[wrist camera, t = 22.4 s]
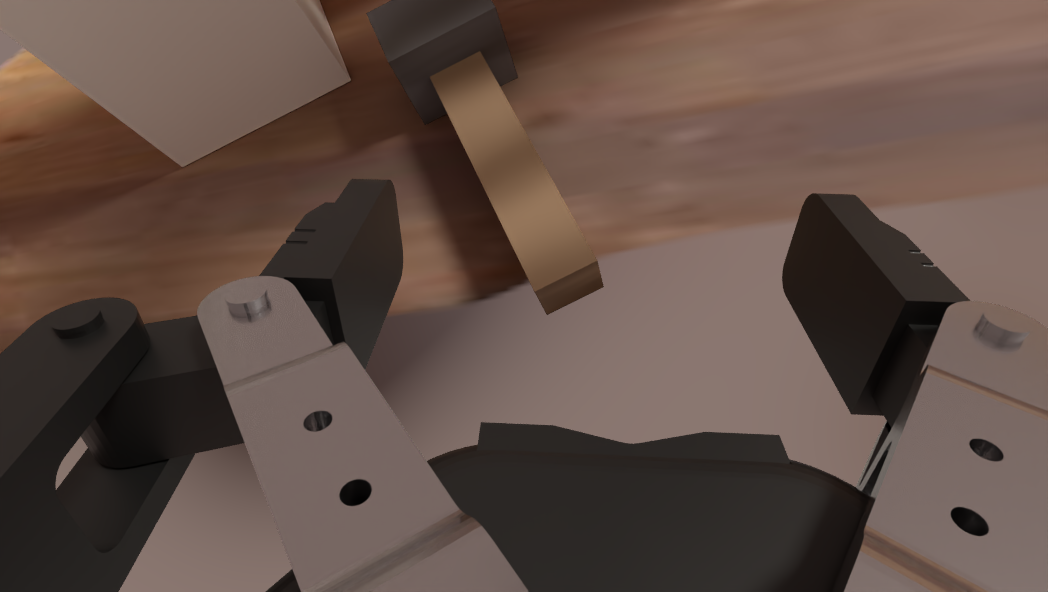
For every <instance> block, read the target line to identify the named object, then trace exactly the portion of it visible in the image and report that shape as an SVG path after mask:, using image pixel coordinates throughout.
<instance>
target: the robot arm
mask: <svg viewBox="0 0 1048 592" xmlns="http://www.w3.org/2000/svg"><path fill="white" fill-rule="evenodd" d="M920 251H921V250H920V249H919V248H918V247H917V246H916V245H915V244H914V243H913V242H912V241H911V240H910V239H909V238H908V237H907V236H906V235H905V234H903V233H901V232H899V231H898V230H896V229H894V228H892V227H891V226H889V225H887V224H885V223H883V222H882V221H880V220H879V219H878V218H877V217H876V216H875V215H874V214H873V213H872V212H871V211H870V210H869V209H868V207H867V206H866V205H865V204H864V203H863V202H862V201H861V200H860V199H859V198H858V197H857V196H855V195H848V194H811V195H809V196H808V197H807V199H806V200H805V202H804V204H803V206H802V209H801V212H800V216H799V219H798V222H797V225H796V228H795V231H794V234H793V237H792V241H791V244H790V247H789V250H788V253H787V257H786V259H785V263H784V267H783V276H782V281H783V289H784V292H785V295H786V297H787V299H788V301H789V302H790V304H791V306H792V308H793V310H794V311H795V313H796V315H797V317H798V319H799V320H800V322H801V324H802V326H803V328H804V330H805V331H806V333H807V335H808V337H809V339H810V340H811V342H812V344H813V346H814V348H815V349H816V351H817V353H818V355H819V357H820V358H821V360H822V362H823V364H824V366H825V368H826V369H827V371H828V373H829V375H830V376H831V378H832V380H833V382H834V384H835V386H836V387H837V389H838V391H839V393H840V395H841V397H842V398H843V400H844V402H845V404H846V406H847V407H848V409H849V411H850V413H851V414H858V415H859V414H860V415H882V416H884V417H885V418H886V420H887V421H886V423H885V425H884V426H883V428H882V430H881V432H880V434H879V436H878V438H877V440H876V442H875V445H874V447H873V450H872V451H871V454H870V456H869V459H868V461H867V463H866V465H865V467H864V470H863V472H862V474H861V477H860V479H859V481H858V484H857V486H856V487H854V486H852V485H851V484H849V483H847V482H845V481H843V480H841V479H839V478H837V477H835V476H833V475H831V474H829V473H826V472H824V471H822V470H819V469H817V468H815V467H812V466H808V465H806V464H803V463H800V462H797V461H793V460H789V458H788V456H787V454H786V451H785V448H784V446H783V443H782V441H781V438H780V436H779V435H763V434H739V433H715V432H702V433H696V434H691V435H685V436H679V437H673V438H668V439H661V440H656V441H650V442H645V443H637V444H628V443H622V442H618V441H614V440H610V439H605V438H602V437H598V436H593V435H589V434H585V433H582V432H578V431H574V430H569V429H565V428H561V427H557V426H553V425H529V424H506V423H482V422H481V427H480V433H479V440H478V445H474V446H469V447H464V448H461V449H457V450H454V451H450V452H447V453H445V454H442V455H440V456H437V457H435V458H432V459H430V460H428V461H426V460H425V458H424V457H423V455H422V454H421V452H420V451H419V450H418V448H417V446H416V445H415V444H414V442H413V441H412V439H411V437H410V436H409V435H408V433H407V432H406V430H405V429H404V427H403V426H402V424H401V423H400V421H399V420H398V418H397V417H396V415H395V414H394V412H393V411H392V409H391V408H390V406H389V405H388V404H387V402H386V401H385V399H384V398H383V396H382V395H381V393H380V392H379V390H378V389H377V387H376V386H375V384H374V383H373V381H372V380H371V378H370V377H369V375H368V374H367V373H366V371H365V368H366V366H367V363H368V361H369V358H370V356H371V353H372V350H373V348H374V346H375V343H376V341H377V338H378V335H379V333H380V330H381V328H382V325H383V323H384V320H385V318H386V315H387V313H388V310H389V308H390V305H391V303H392V300H393V298H394V295H395V292H396V290H397V287H398V285H399V282H400V280H401V276H402V269H403V248H402V240H401V232H400V225H399V217H398V209H397V201H396V194H395V189H394V185H393V183H392V181H391V180H371V179H352V180H351V181H350V182H349V183H348V185H347V186H346V188H345V189H344V191H343V192H342V193H341V195H340V196H339V198H338V199H337V201H336V202H335V203H324V204H322V205H321V206H319V207H317V208H316V209H314V210H312V211H311V212H309V213H307V214H306V215H305V216H304V217H303V219H302V220H301V221H300V223H299V224H298V225H297V227H296V228H295V232H292V233H291V234H290V236H289V237H288V238H287V240H286V244H283V245H282V246H281V248H280V249H279V250H278V252H277V253H276V254H275V256H274V257H273V258H272V260H271V261H270V262H269V264H268V265H267V266H266V267H265V269H264V270H263V271H262V273H261V274H260V275H259V276H256V277H249V278H244V279H240V280H236V281H233V282H230V283H228V284H225V285H223V286H221V287H219V288H217V289H216V290H214V291H213V292H211V293H210V294H209V295H207V296H206V297H205V298H204V299H203V301H202V302H201V303H200V305H199V307H198V310H197V316H192V317H186V318H180V319H173V320H167V321H161V322H154V323H148V324H144V323H143V321H142V319H141V317H140V315H139V313H138V311H137V308H136V307H135V306H134V304H132V303H131V302H129V301H127V300H124V299H120V298H96V299H90V300H85V301H80V302H77V303H73V304H70V305H68V306H65V307H62V308H60V309H58V310H55V311H53V312H51V313H49V314H48V315H46V316H44V317H42V318H41V319H39V320H38V321H36V322H35V323H34V324H33V325H32V326H30V327H29V328H28V329H27V330H26V331H25V332H24V333H23V334H22V335H21V336H19V337H18V338H17V339H16V340H15V341H14V342H13V343H12V344H11V345H10V346H9V347H8V348H6V349H5V350H4V351H3V352H2V353H1V354H0V592H118V591H119V590H120V588H121V586H122V584H123V582H124V581H125V579H126V577H127V575H128V574H129V572H130V570H131V568H132V566H133V565H134V563H135V561H136V559H137V557H138V556H139V554H140V552H141V550H142V548H143V547H144V545H145V543H146V541H147V539H148V537H149V536H150V534H151V532H152V530H153V529H154V527H155V525H156V523H157V522H158V520H159V518H160V516H161V514H162V512H163V511H164V509H165V507H166V505H167V504H168V502H169V500H170V498H171V496H172V494H173V493H174V491H175V489H176V487H177V486H178V484H179V482H180V480H181V478H182V476H183V475H184V473H185V471H186V469H187V468H188V466H189V464H190V462H191V460H192V459H193V457H194V455H195V453H199V452H203V451H209V450H213V449H218V448H223V447H227V446H232V445H237V444H241V443H245V445H246V447H247V450H248V453H249V456H250V458H251V461H252V464H253V466H254V469H255V471H256V474H257V477H258V479H259V482H260V485H261V487H262V490H263V493H264V495H265V498H266V500H267V503H268V506H269V508H270V511H271V514H272V516H273V519H274V522H275V524H276V527H277V530H278V532H279V535H280V537H281V540H282V543H283V545H284V548H285V551H286V553H287V556H288V559H289V561H290V563H291V566H292V570H290V571H289V572H288V573H287V574H286V575H285V576H283V577H282V578H281V579H280V580H279V581H278V582H276V583H275V584H274V585H273V586H272V587H271V588H269V589H268V590H267V591H266V592H1048V328H1047V327H1046V326H1044V325H1043V324H1041V323H1040V322H1038V321H1036V320H1035V319H1033V318H1031V317H1029V316H1027V315H1025V314H1023V313H1021V312H1018V311H1016V310H1013V309H1010V308H1007V307H1004V306H1000V305H996V304H992V303H987V302H980V301H970V300H969V299H968V298H967V297H966V296H965V295H964V294H963V293H962V292H961V291H960V290H959V289H958V288H957V287H956V286H955V285H954V284H953V283H952V282H951V281H950V280H949V279H948V277H947V276H946V275H945V274H944V273H942V271H941V270H940V269H939V268H938V267H933V262H932V261H931V260H930V259H929V258H928V257H927V256H926V255H925V254H924V253H920ZM80 436H81V437H82V439H83V440H84V442H85V443H86V445H87V447H88V449H87V450H86V451H85V453H84V454H83V455H82V457H81V458H80V459H79V461H78V462H77V463H76V465H75V466H74V467H73V469H72V470H71V471H70V472H69V474H68V475H67V477H66V478H65V479H64V480H63V482H62V483H61V485H60V486H59V487H58V488H57V490H56V488H55V482H56V475H57V471H58V468H59V466H60V464H61V462H62V460H63V459H64V457H65V456H66V454H67V453H68V452H69V450H70V449H71V448H72V447H73V445H74V444H75V443H76V441H77V440H78V439H79V437H80Z"/></svg>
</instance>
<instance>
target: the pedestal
mask: <svg viewBox="0 0 1048 592" xmlns="http://www.w3.org/2000/svg"><path fill="white" fill-rule="evenodd" d="M0 30H1V31H2V32H4V33H5V34H6V35H8V36H9V37H10V38H12V39H13V40H14V41H16V42H17V43H18V44H20V45H21V46H22V47H24V48H25V49H26V50H28V51H29V52H30V53H32V54H33V55H34V56H35V57H37V58H38V59H39V60H41V61H42V62H43V63H45V64H46V65H47V66H49V67H50V68H51V69H53V70H54V71H55V72H57V73H58V74H59V75H61V76H62V77H63V78H65V79H66V80H67V81H69V82H70V83H71V84H73V85H74V86H75V87H77V88H78V89H79V90H81V91H82V92H83V93H85V94H86V95H87V96H88V97H90V98H91V99H92V100H94V101H95V102H96V103H98V104H99V105H100V106H102V107H103V108H104V109H106V110H107V111H108V112H110V113H111V114H112V115H114V116H115V117H116V118H118V119H119V120H120V121H122V122H123V123H124V124H126V125H127V126H128V127H130V128H131V129H132V130H134V131H135V132H136V133H138V134H139V135H140V136H142V137H143V138H144V139H145V140H147V141H148V142H149V143H151V144H152V145H153V146H155V147H156V148H157V149H159V150H160V151H161V152H163V153H164V154H165V155H167V156H168V157H169V158H171V159H172V160H173V161H175V162H176V163H177V164H179V165H180V166H181V167H184V166H186V165H188V164H190V163H192V162H194V161H196V160H198V159H200V158H202V157H204V156H205V155H207V154H209V153H211V152H213V151H215V150H217V149H219V148H221V147H223V146H225V145H227V144H229V143H231V142H233V141H235V140H237V139H239V138H240V137H242V136H244V135H246V134H248V133H250V132H252V131H254V130H256V129H258V128H260V127H262V126H264V125H266V124H268V123H270V122H272V121H274V120H275V119H277V118H279V117H281V116H283V115H285V114H287V113H289V112H291V111H293V110H295V109H297V108H299V107H301V106H303V105H305V104H307V103H309V102H311V101H312V100H314V99H316V98H318V97H320V96H322V95H324V94H326V93H328V92H330V91H332V90H334V89H336V88H338V87H340V86H342V85H344V84H346V83H347V82H349V81H351V79H350V76H349V74H348V71H347V69H346V66H345V64H344V61H343V59H342V56H341V54H340V51H339V49H338V46H337V43H336V41H335V38H334V36H333V33H332V31H331V28H330V26H329V23H328V21H327V18H326V16H325V13H324V11H323V8H322V5H321V3H320V0H0Z"/></svg>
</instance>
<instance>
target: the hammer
mask: <svg viewBox="0 0 1048 592" xmlns="http://www.w3.org/2000/svg"><path fill="white" fill-rule="evenodd" d="M366 14H367V16H368V18H369V20H370V23H371V25H372V27H373V29H374V31H375V34H376V36H377V38H378V40H379V43H380V45H381V47H382V49H383V51H384V54H385V56H386V58H387V60H388V62H389V64H390V66H391V68H392V69H393V71H394V73H395V74H396V76H397V78H398V80H399V81H400V83H401V85H402V86H403V88H404V90H405V92H406V93H407V95H408V97H409V98H410V100H411V102H412V103H413V105H414V107H415V109H416V110H417V112H418V114H419V115H420V117H421V119H422V121H423V122H424V124H425V125H426V124H428V123H430V122H432V121H434V120H436V119H438V118H440V117H442V116H444V115H445V114H448V116H449V118H450V120H451V122H452V124H453V126H454V128H455V130H456V132H457V134H458V136H459V138H460V140H461V142H462V144H463V146H464V148H465V150H466V153H467V155H468V157H469V159H470V161H471V163H472V165H473V167H474V169H475V171H476V173H477V175H478V177H479V179H480V181H481V183H482V185H483V187H484V189H485V191H486V193H487V195H488V198H489V200H490V202H491V204H492V206H493V208H494V210H495V212H496V214H497V216H498V218H499V220H500V222H501V224H502V226H503V228H504V230H505V232H506V234H507V236H508V238H509V241H510V243H511V245H512V247H513V249H514V251H515V253H516V255H517V257H518V259H519V261H520V263H521V265H522V267H523V269H524V271H525V273H526V275H527V277H528V279H529V281H530V284H531V286H532V288H533V290H534V292H535V293H536V295H537V297H538V299H539V301H540V303H541V305H542V307H543V308H544V310H545V312H546V314H547V315H548V314H550V313H552V312H554V311H556V310H558V309H560V308H562V307H564V306H566V305H568V304H570V303H572V302H574V301H576V300H579V299H580V298H582V297H585V296H587V295H589V294H591V293H593V292H595V291H597V290H599V289H601V288H603V287H604V286H603V282H602V278H601V274H600V270H599V266H598V261H597V259H596V257H595V256H594V254H593V252H592V250H591V248H590V247H589V245H588V243H587V241H586V239H585V238H584V236H583V234H582V232H581V231H580V229H579V227H578V225H577V223H576V222H575V220H574V218H573V216H572V214H571V213H570V211H569V209H568V207H567V206H566V204H565V202H564V200H563V198H562V197H561V195H560V193H559V191H558V189H557V188H556V186H555V184H554V182H553V181H552V179H551V177H550V175H549V173H548V172H547V170H546V168H545V166H544V164H543V163H542V161H541V159H540V157H539V156H538V154H537V152H536V150H535V148H534V147H533V145H532V143H531V141H530V139H529V138H528V136H527V134H526V132H525V131H524V129H523V127H522V125H521V123H520V122H519V120H518V118H517V116H516V114H515V113H514V111H513V109H512V107H511V106H510V104H509V102H508V100H507V98H506V97H505V95H504V93H503V91H502V89H501V88H500V86H502V85H504V84H506V83H508V82H510V81H512V80H514V79H516V78H518V76H517V73H516V70H515V67H514V64H513V61H512V57H511V54H510V51H509V48H508V45H507V42H506V39H505V35H504V32H503V29H502V26H501V23H500V20H499V17H498V14H497V10H496V7H495V6H494V4H493V2H492V1H491V0H391V1H389V2H387V3H386V4H384V5H382V6H380V7H378V8H376V9H374V10H372V11H370V12H368V13H366Z"/></svg>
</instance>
